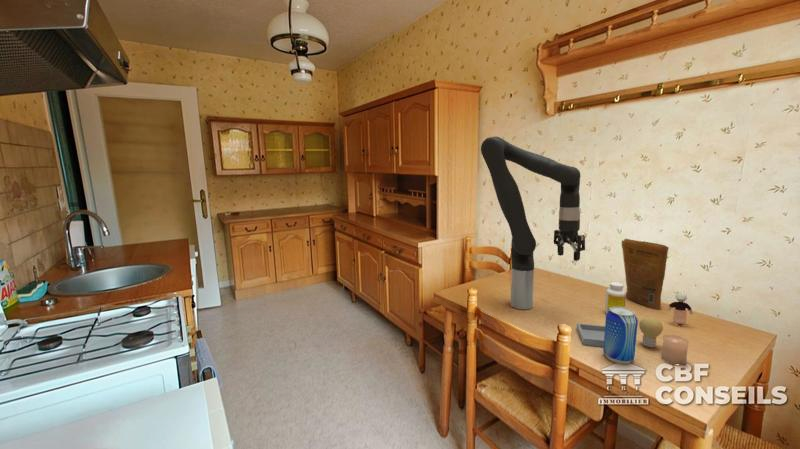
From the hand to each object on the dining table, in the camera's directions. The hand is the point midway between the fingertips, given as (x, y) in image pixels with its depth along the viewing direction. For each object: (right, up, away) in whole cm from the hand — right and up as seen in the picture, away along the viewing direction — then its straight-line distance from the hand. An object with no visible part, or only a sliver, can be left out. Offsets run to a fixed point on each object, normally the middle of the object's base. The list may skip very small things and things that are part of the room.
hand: (568, 257), depth 138 cm
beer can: (+2, -30, -28) cm, 41 cm away
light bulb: (+17, -28, -21) cm, 39 cm away
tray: (+3, -27, -16) cm, 32 cm away
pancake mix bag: (+38, -21, +13) cm, 46 cm away
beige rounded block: (+18, -29, -30) cm, 46 cm away
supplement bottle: (+20, -24, +3) cm, 31 cm away
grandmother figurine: (+38, -25, -7) cm, 46 cm away
